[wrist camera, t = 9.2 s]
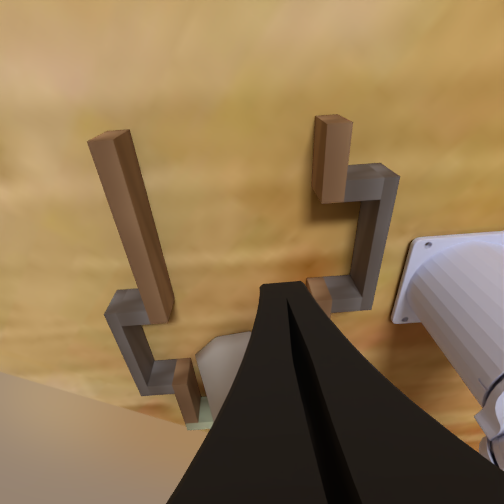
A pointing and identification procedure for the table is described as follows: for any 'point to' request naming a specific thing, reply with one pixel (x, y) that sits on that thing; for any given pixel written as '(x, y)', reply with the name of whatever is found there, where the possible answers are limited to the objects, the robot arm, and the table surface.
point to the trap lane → (155, 272)
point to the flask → (221, 366)
